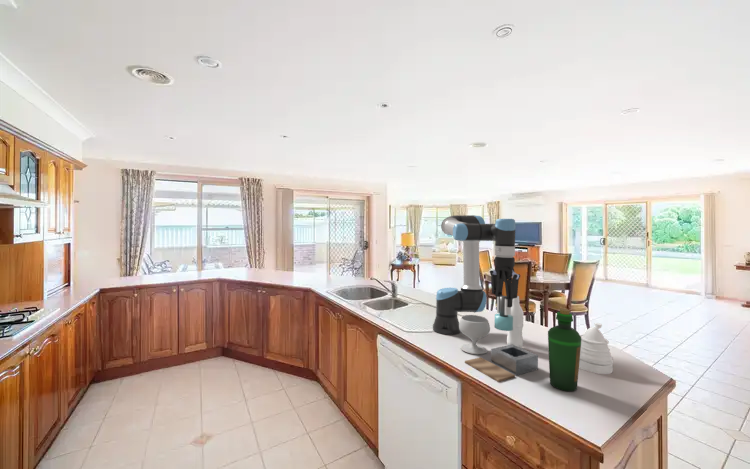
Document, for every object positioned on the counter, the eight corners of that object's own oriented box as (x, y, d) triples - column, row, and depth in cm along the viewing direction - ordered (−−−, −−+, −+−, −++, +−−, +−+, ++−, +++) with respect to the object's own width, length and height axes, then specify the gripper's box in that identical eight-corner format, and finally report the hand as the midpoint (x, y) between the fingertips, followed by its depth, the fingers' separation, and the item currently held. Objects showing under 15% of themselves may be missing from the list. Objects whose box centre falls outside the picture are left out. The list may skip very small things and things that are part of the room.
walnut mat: (464, 362, 131) (464, 360, 131) (480, 359, 135) (480, 357, 135) (497, 382, 115) (497, 379, 115) (515, 377, 119) (515, 375, 119)
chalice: (474, 358, 136) (474, 324, 135) (452, 347, 148) (452, 316, 148) (496, 352, 142) (496, 320, 142) (473, 342, 155) (474, 312, 154)
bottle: (588, 391, 109) (589, 312, 108) (564, 395, 106) (566, 314, 105) (561, 377, 119) (563, 305, 118) (539, 381, 116) (541, 307, 115)
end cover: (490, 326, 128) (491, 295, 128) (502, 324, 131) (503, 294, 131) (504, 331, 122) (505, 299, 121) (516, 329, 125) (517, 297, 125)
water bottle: (524, 351, 144) (525, 298, 143) (508, 350, 145) (509, 297, 145) (520, 345, 151) (521, 294, 150) (505, 344, 152) (506, 294, 152)
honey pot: (593, 359, 136) (594, 318, 135) (620, 373, 123) (622, 328, 123) (567, 361, 134) (568, 320, 133) (593, 375, 121) (594, 329, 121)
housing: (491, 362, 131) (491, 348, 131) (512, 357, 137) (512, 344, 137) (515, 375, 120) (516, 360, 120) (537, 369, 125) (538, 355, 125)
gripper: (482, 255, 131) (481, 309, 132) (515, 258, 117) (514, 320, 117) (495, 254, 135) (494, 307, 135) (528, 257, 120) (527, 317, 121)
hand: (503, 313), depth 126 cm, fingers closed on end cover, 3 cm apart
